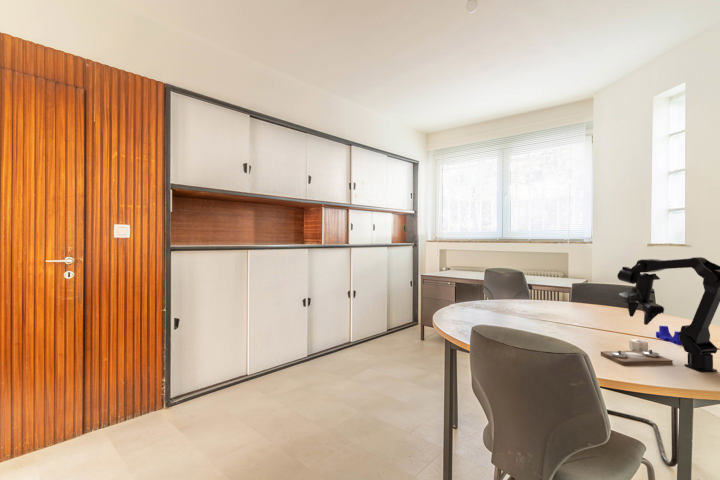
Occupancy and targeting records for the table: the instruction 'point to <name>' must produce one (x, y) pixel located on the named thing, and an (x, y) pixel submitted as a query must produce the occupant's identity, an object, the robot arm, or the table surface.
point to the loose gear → (638, 345)
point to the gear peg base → (645, 353)
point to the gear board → (636, 358)
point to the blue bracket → (668, 335)
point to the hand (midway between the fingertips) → (638, 320)
